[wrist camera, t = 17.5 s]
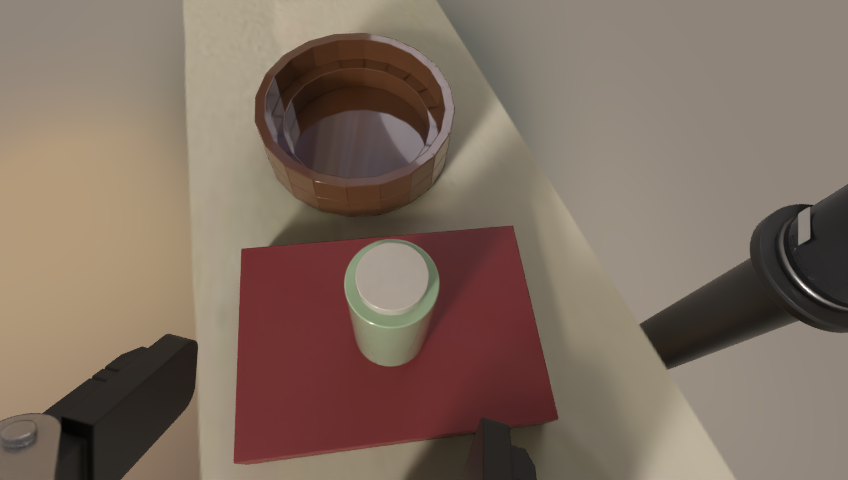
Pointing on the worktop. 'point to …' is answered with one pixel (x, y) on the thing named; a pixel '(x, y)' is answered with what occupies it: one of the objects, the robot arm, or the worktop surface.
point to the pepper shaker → (391, 299)
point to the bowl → (355, 123)
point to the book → (372, 383)
